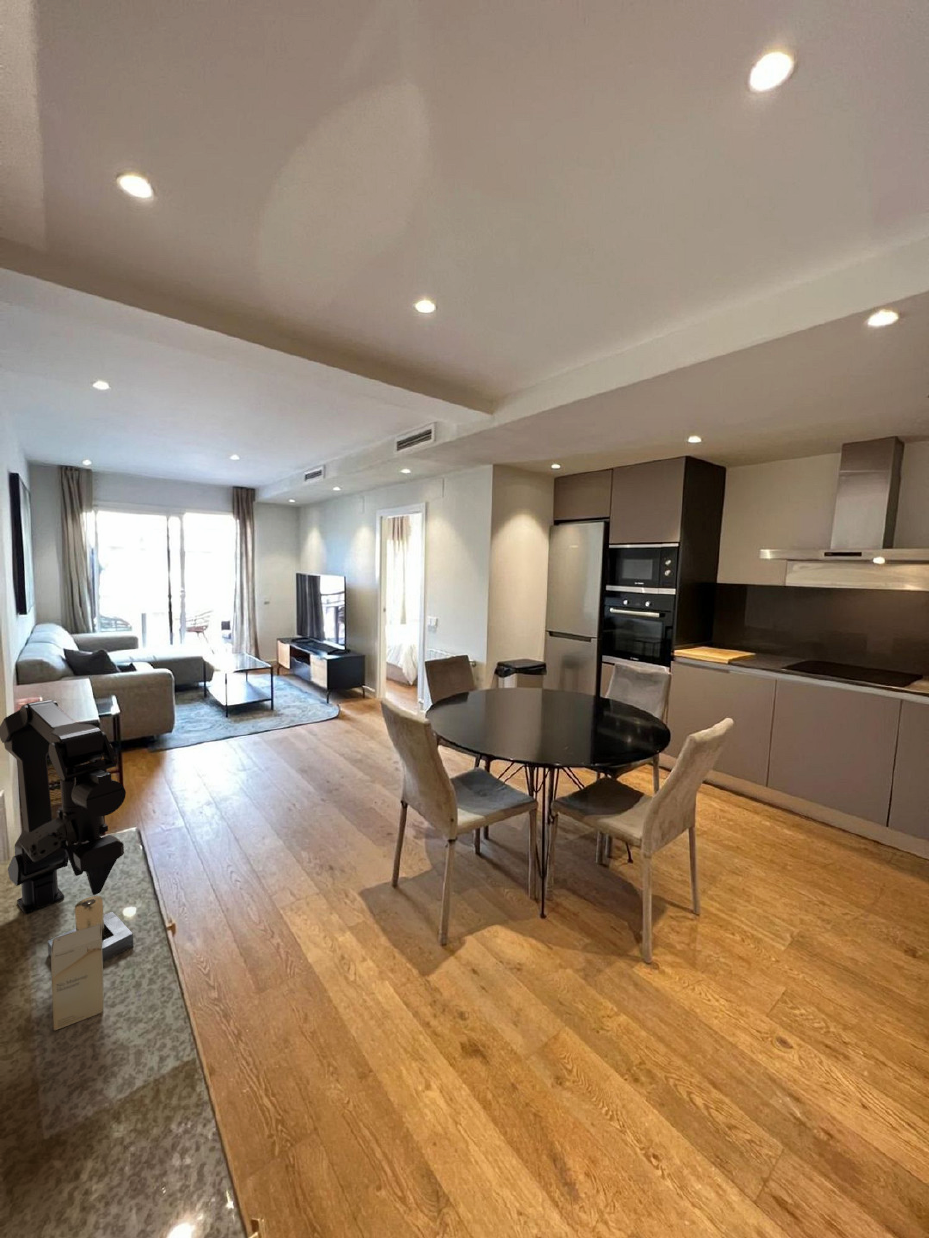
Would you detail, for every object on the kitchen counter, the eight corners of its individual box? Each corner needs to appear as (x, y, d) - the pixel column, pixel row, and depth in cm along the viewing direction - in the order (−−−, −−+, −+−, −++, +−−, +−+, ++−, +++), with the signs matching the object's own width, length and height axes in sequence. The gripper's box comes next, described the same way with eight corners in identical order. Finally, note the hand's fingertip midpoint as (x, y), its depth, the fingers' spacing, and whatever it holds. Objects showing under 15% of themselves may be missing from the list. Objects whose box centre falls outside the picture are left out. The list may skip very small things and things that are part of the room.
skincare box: (53, 1032, 74) (48, 955, 73) (56, 1011, 78) (51, 938, 77) (105, 1011, 78) (101, 938, 77) (105, 992, 81) (101, 922, 80)
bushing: (74, 951, 90) (71, 904, 90) (100, 938, 93) (97, 892, 93) (81, 961, 88) (79, 912, 87) (108, 948, 91) (105, 901, 90)
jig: (48, 953, 90) (47, 940, 89) (112, 923, 98) (112, 911, 97) (66, 981, 84) (65, 967, 83) (133, 946, 92) (132, 933, 91)
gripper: (8, 802, 87) (15, 886, 89) (39, 835, 76) (46, 931, 77) (85, 781, 96) (90, 858, 98) (122, 808, 85) (127, 895, 86)
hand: (87, 883), depth 89 cm, fingers open, 9 cm apart
